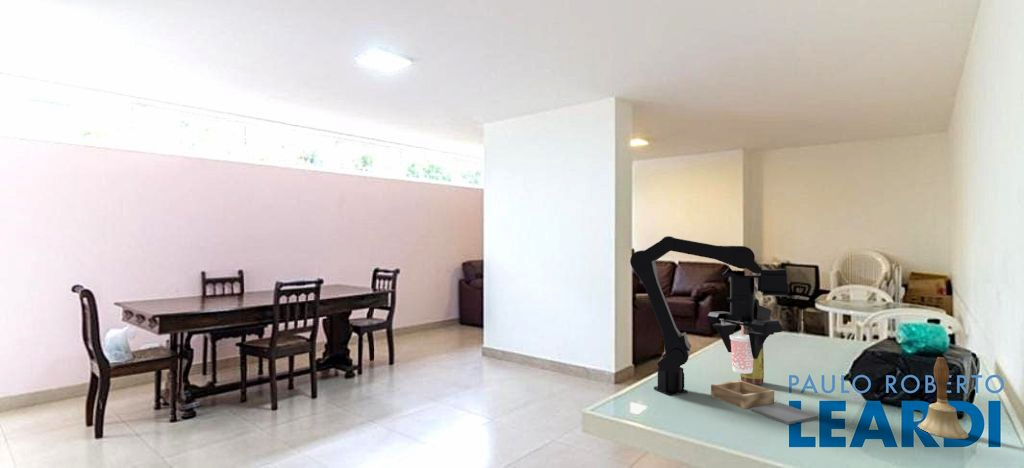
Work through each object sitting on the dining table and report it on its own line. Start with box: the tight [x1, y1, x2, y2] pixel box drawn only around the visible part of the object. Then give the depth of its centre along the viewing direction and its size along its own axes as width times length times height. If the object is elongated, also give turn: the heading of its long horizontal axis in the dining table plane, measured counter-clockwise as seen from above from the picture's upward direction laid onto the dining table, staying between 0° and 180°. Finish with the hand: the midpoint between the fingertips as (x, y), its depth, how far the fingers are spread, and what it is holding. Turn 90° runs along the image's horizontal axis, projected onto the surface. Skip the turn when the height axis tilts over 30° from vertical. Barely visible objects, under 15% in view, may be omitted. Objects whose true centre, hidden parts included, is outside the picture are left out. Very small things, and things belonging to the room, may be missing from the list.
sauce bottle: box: [739, 319, 765, 386], centre depth 145 cm, size 7×6×20 cm
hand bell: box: [917, 356, 969, 440], centre depth 109 cm, size 8×8×16 cm
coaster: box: [750, 402, 819, 425], centre depth 119 cm, size 10×10×1 cm
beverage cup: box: [730, 325, 753, 374], centre depth 130 cm, size 6×6×14 cm
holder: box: [710, 379, 775, 409], centre depth 130 cm, size 10×10×3 cm
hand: (742, 355), depth 130 cm, fingers closed on beverage cup, 7 cm apart
